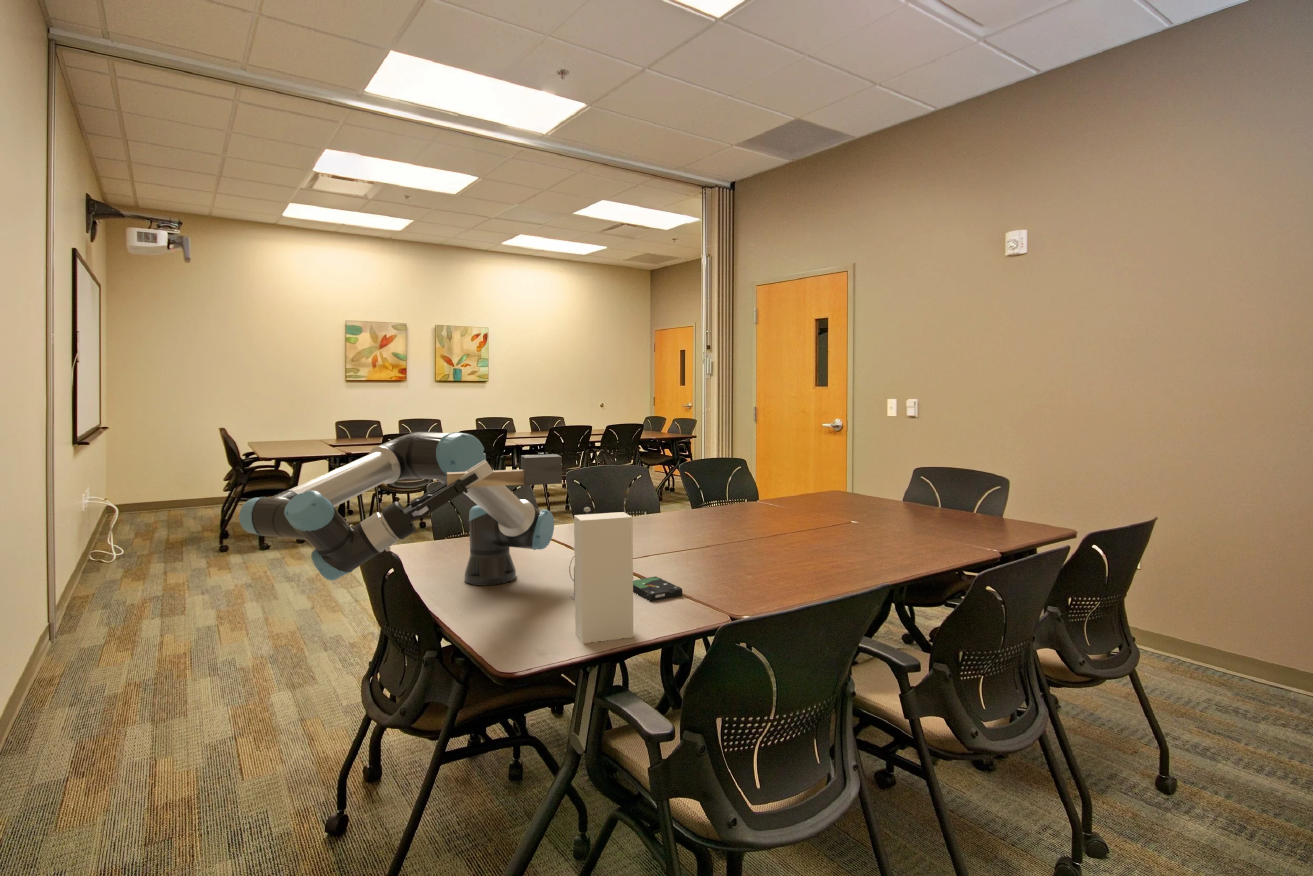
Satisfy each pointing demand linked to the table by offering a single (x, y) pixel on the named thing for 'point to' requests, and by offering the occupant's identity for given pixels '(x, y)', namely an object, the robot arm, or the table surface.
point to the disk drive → (656, 589)
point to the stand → (603, 576)
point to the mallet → (522, 473)
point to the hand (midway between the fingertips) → (489, 465)
